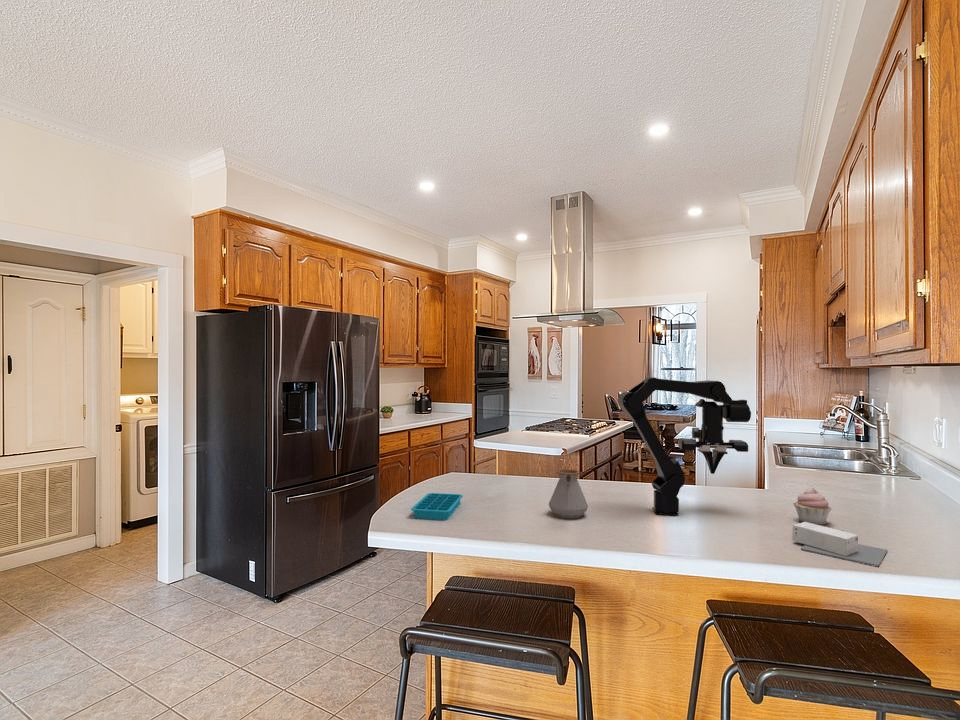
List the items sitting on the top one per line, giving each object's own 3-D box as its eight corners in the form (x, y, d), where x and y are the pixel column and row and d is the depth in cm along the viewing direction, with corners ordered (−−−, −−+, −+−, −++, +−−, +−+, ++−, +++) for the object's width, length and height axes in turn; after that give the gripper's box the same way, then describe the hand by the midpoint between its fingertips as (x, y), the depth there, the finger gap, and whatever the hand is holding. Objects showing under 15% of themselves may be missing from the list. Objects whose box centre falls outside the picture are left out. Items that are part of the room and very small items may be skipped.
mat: (800, 549, 125) (800, 548, 125) (814, 536, 135) (814, 535, 135) (878, 567, 114) (878, 565, 114) (887, 551, 124) (887, 549, 124)
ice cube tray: (409, 520, 148) (409, 509, 148) (428, 501, 168) (428, 492, 168) (449, 522, 146) (449, 511, 146) (463, 503, 166) (463, 494, 166)
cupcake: (818, 529, 141) (818, 492, 142) (786, 519, 150) (786, 485, 150) (839, 524, 145) (839, 489, 146) (806, 516, 154) (806, 482, 154)
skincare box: (791, 541, 130) (845, 558, 119) (792, 523, 130) (846, 539, 119) (804, 537, 133) (858, 553, 123) (805, 519, 133) (859, 534, 123)
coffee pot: (549, 508, 160) (549, 460, 160) (587, 510, 158) (587, 461, 158) (546, 529, 139) (546, 474, 139) (590, 532, 137) (590, 475, 137)
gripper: (736, 420, 163) (736, 469, 163) (674, 418, 166) (674, 467, 166) (748, 423, 152) (748, 477, 152) (682, 422, 155) (682, 474, 155)
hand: (712, 473), depth 156 cm, fingers closed
